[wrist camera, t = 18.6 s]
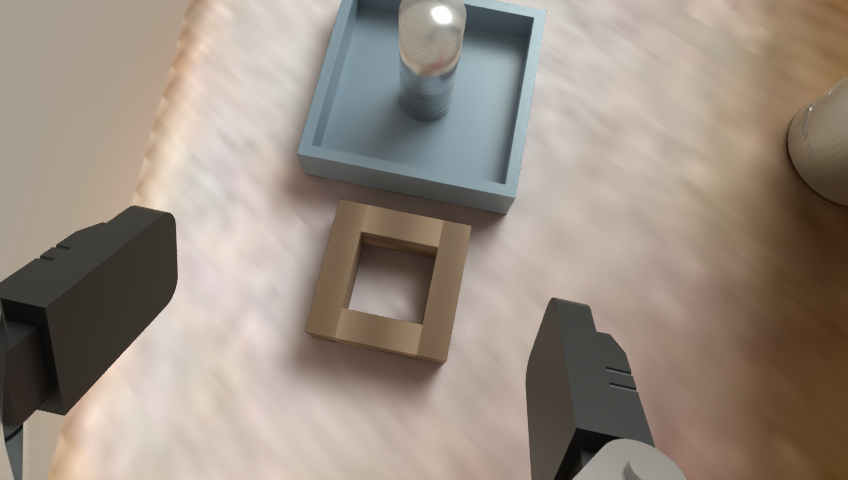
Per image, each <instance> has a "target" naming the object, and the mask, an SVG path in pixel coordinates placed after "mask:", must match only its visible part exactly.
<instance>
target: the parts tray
mask: <svg viewBox="0 0 848 480" xmlns="http://www.w3.org/2000/svg"><path fill="white" fill-rule="evenodd" d="M462 1H463V3H464V5H465V8H466V23H465V29H464V35H463V41H462V47H461V53H460V60H459V66H458V72H457V78H456V84H455V90H454V96H453V103H452V106H451V108H450V110H449V112H448V113H447V114H446V115H445V116H444V117H442V118H440V119H438V120H436V121H431V122H423V121H418V120H415V119H413V118H411V117H410V116H409V115H408V114H406V112H405V111H404V110H403V108H402V106H401V103H400V77H399V7H400V4H401V2H402V0H342V1H341V4H340V8H339V11H338V14H337V18H336V21H335V25H334V28H333V31H332V35H331V38H330V42H329V45H328V49H327V52H326V55H325V59H324V62H323V66H322V69H321V72H320V76H319V79H318V83H317V86H316V90H315V93H314V96H313V100H312V103H311V107H310V110H309V114H308V117H307V120H306V124H305V127H304V131H303V134H302V137H301V141H300V144H299V148H298V151H297V155H298V157H299V160H300V162H301V165H302V167H303V169H304V172H305V174H309V175H314V176H318V177H323V178H328V179H333V180H338V181H343V182H348V183H353V184H358V185H363V186H368V187H373V188H377V189H382V190H387V191H392V192H397V193H402V194H407V195H412V196H417V197H422V198H427V199H432V200H436V201H441V202H446V203H451V204H456V205H461V206H466V207H471V208H476V209H481V210H486V211H490V212H495V213H500V214H505V215H506V214H507V212H508V210H509V208H510V207H511V205H512V203H513V201H514V199H515V197H516V191H517V185H518V179H519V173H520V167H521V161H522V155H523V149H524V143H525V137H526V131H527V125H528V119H529V113H530V107H531V101H532V95H533V89H534V83H535V77H536V70H537V64H538V58H539V52H540V46H541V40H542V34H543V28H544V22H545V16H546V10H540V9H535V8H530V7H525V6H520V5H515V4H510V3H505V2H500V1H495V0H462Z"/></svg>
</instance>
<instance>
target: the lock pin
mask: <svg viewBox="0 0 848 480" xmlns="http://www.w3.org/2000/svg"><path fill="white" fill-rule="evenodd" d="M465 23H466V8H465V5H464V3H463V1H462V0H402V2H401V4H400V7H399V77H400V103H401V106H402V108H403V110H404V111H405V112H406V114H408V115H409V116H410V117H411V118H413V119H415V120H418V121H423V122H431V121H436V120H438V119H440V118H442V117H444V116H445V115H446V114H447V113H448V112H449V110H450V108H451V106H452V103H453V96H454V90H455V84H456V78H457V72H458V66H459V60H460V53H461V47H462V41H463V35H464V29H465Z"/></svg>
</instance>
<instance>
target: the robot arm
mask: <svg viewBox="0 0 848 480" xmlns="http://www.w3.org/2000/svg"><path fill="white" fill-rule="evenodd" d="M788 150H789V154H790V157H791V160H792V163H793V164H794V166H795V168H796V170H797V172H798V173H799V175H800V176H801V177H802V178H803V180H804V181H805V182H806V183H807V184H808V185H809V186H810V187H811V188H812V189H814V190H815V191H816V192H817V193H818V194H820V195H822V196H823V197H825V198H827V199H828V200H831V201H833V202H836V203H838V204H841V205H845V206H848V75H847V76H846V77H844V78H843V79H841V80H840V81H839V82H837V83H836V84H835V85H833V86H832V87H831V88H829V89H828V90H827V91H825V92H824V93H823V94H821V95H820V96H818V97H817V98H816V99H814V100H813V101H812V102H810V103H809V104H808V105H806V106H805V107H804V108H802V109H801V110H800V111H799V112H798V113H797V115H796V116H795V117H794V118H793V120H792V123H791V125H790V127H789V132H788ZM177 279H178V270H177V243H176V222H175V219H174V216H173V215H172V214H171V213H168V212H163V211H159V210H154V209H150V208H145V207H140V206H130V207H129V208H127V209H126V210H124V211H123V212H122V213H120V214H119V215H117V216H116V217H115V218H113V219H112V220H110V221H109V222H107V223H103V222H102V223H99V224H96V225H94V226H91V227H88V228H85V229H82V230H79V231H76V232H75V233H73V234H72V235H70V236H69V237H67V238H66V239H64V240H63V241H61V242H60V243H58V244H57V245H56V248H54V247H52V248H51V249H49V250H48V251H46V252H45V253H43V254H42V255H41V256H40V259H37V258H36V259H34V260H33V261H32V262H30V263H28V264H27V265H26V266H24V267H23V268H21V269H19V270H18V271H17V272H15V273H13V274H12V275H10V276H9V277H8V278H6V279H5V280H3V281H2V282H0V480H28V428H27V424H26V420H27V419H28V418H29V417H30V416H31V415H32V414H33V412H35V411H36V410H41V411H46V412H50V413H55V414H59V415H64V416H65V415H66V414H67V413H68V412H69V410H70V409H71V408H72V407H73V406H74V405H75V404H76V403H77V402H78V401H79V400H80V399H81V398H82V396H83V395H84V394H85V393H86V392H87V391H88V390H89V389H90V388H91V387H92V386H93V385H94V384H95V382H96V381H97V380H98V379H99V378H100V377H101V376H102V375H103V374H104V373H105V372H106V371H107V369H108V368H109V367H110V366H111V365H112V364H113V363H114V362H115V361H116V360H117V359H118V358H119V357H120V355H121V354H122V353H123V352H124V351H125V350H126V349H127V348H128V347H129V346H130V345H131V344H132V342H133V341H134V340H135V339H136V338H137V337H138V336H139V335H140V334H141V333H142V332H143V331H144V330H145V328H146V327H147V326H148V325H149V324H150V323H151V322H152V321H153V320H154V319H155V318H156V317H157V316H158V314H159V313H160V312H161V311H162V310H163V309H164V308H165V307H166V306H167V305H168V303H169V302H170V300H171V299H172V297H173V294H174V292H175V289H176V285H177ZM526 399H527V415H528V431H529V446H530V462H531V478H532V480H687V478H686V477H685V475H684V474H683V472H682V471H681V470H680V468H679V467H678V466H677V465H676V464H675V463H674V462H673V461H672V460H671V459H670V458H669V457H667V456H666V455H665V454H663V453H662V452H660V451H659V450H657V449H656V448H655V445H654V442H653V439H652V436H651V433H650V429H649V426H648V423H647V420H646V417H645V414H644V410H643V407H642V404H641V401H640V398H639V395H638V392H636V385H635V382H634V379H633V376H631V369H630V366H629V363H628V360H627V357H626V353H625V352H624V351H623V350H622V348H621V347H620V346H619V345H618V343H617V342H616V341H615V340H614V339H613V337H612V336H611V335H610V334H606V333H601V332H597V331H596V328H595V325H594V321H593V317H592V313H591V309H590V307H589V305H586V304H581V303H576V302H572V301H567V300H563V299H558V298H551V300H550V301H549V303H548V306H547V308H546V311H545V314H544V317H543V320H542V322H541V325H540V328H539V331H538V334H537V337H536V340H535V342H534V345H533V348H532V351H531V354H530V357H529V361H528V366H527V372H526Z"/></svg>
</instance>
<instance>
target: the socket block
mask: <svg viewBox="0 0 848 480" xmlns="http://www.w3.org/2000/svg"><path fill="white" fill-rule="evenodd" d="M471 227H472V226H469V225H464V224H459V223H454V222H450V221H445V220H440V219H435V218H430V217H425V216H420V215H415V214H410V213H405V212H401V211H396V210H391V209H386V208H381V207H376V206H371V205H366V204H361V203H356V202H352V201H347V200H342V199H340V200H339V204H338V208H337V212H336V215H335V219H334V223H333V227H332V231H331V234H330V238H329V242H328V246H327V250H326V254H325V257H324V261H323V265H322V269H321V273H320V276H319V280H318V284H317V288H316V292H315V296H314V299H313V303H312V307H311V311H310V315H309V319H308V322H307V326H306V330H305V332H306V333H308V334H309V335H311V336H312V337H315V338H320V339H325V340H330V341H334V342H339V343H344V344H349V345H353V346H358V347H363V348H368V349H373V350H377V351H382V352H387V353H392V354H397V355H401V356H406V357H411V358H416V359H420V360H425V361H430V362H435V363H440V364H444V363H445V362H446V361H447V355H448V350H449V345H450V339H451V334H452V329H453V323H454V318H455V312H456V307H457V302H458V296H459V291H460V286H461V280H462V275H463V270H464V264H465V259H466V254H467V248H468V243H469V237H470V232H471ZM364 244H368V245H373V246H377V247H382V248H387V249H392V250H397V251H402V252H407V253H412V254H416V255H421V256H426V257H431V258H436V259H435V264H434V269H433V274H432V279H431V284H430V289H429V293H428V298H427V303H426V308H425V313H424V318H423V323H422V325H421V324H416V323H411V322H407V321H402V320H397V319H392V318H387V317H383V316H378V315H373V314H368V313H363V312H359V311H354V310H349V309H348V307H349V303H350V299H351V295H352V291H353V287H354V283H355V278H356V274H357V270H358V266H359V262H360V258H361V254H362V250H363V245H364Z"/></svg>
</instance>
